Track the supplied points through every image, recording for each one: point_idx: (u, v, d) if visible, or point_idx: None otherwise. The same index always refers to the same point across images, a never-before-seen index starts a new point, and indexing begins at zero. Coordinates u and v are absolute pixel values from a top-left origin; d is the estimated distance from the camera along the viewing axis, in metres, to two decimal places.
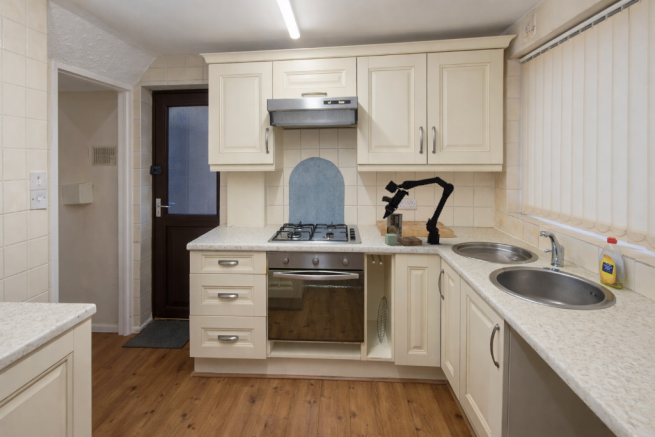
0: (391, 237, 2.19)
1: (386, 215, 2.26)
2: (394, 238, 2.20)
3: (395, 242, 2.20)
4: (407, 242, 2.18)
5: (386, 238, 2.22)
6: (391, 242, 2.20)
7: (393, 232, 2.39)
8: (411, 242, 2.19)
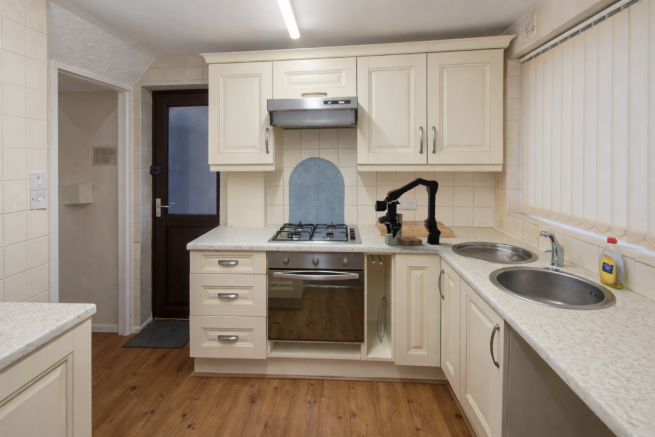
0: (391, 237, 2.19)
1: (395, 233, 2.16)
2: (394, 238, 2.20)
3: (395, 242, 2.20)
4: (407, 242, 2.18)
5: (386, 238, 2.22)
6: (391, 242, 2.20)
7: None
8: (411, 242, 2.19)
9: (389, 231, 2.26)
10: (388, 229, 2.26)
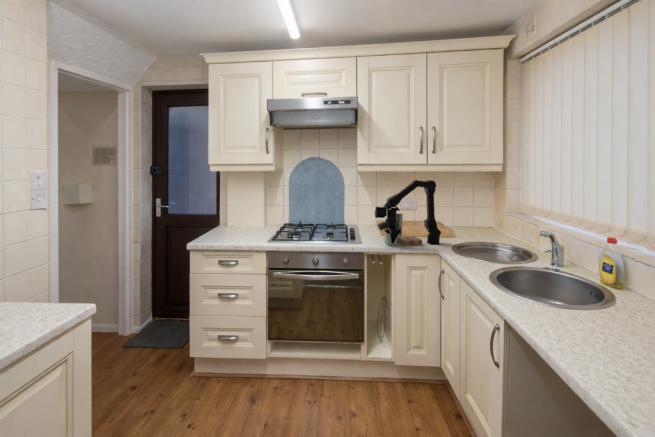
0: None
1: (394, 239, 2.18)
2: None
3: (395, 242, 2.20)
4: (407, 242, 2.18)
5: (386, 238, 2.22)
6: (391, 242, 2.20)
7: None
8: (411, 242, 2.19)
9: None
10: None
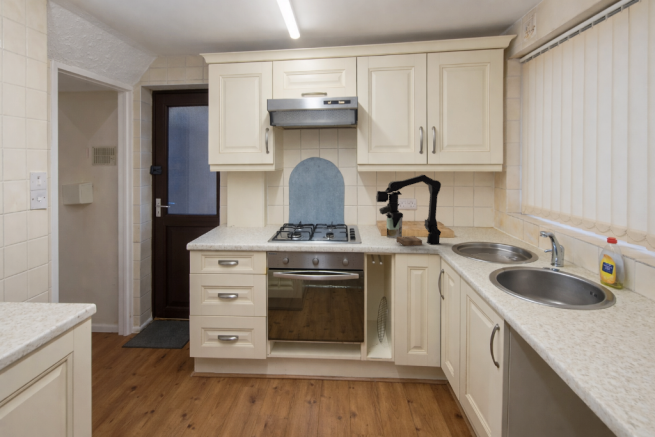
0: None
1: (396, 223, 2.17)
2: None
3: (397, 226, 2.19)
4: (407, 242, 2.18)
5: (388, 222, 2.20)
6: None
7: (393, 232, 2.39)
8: (411, 242, 2.19)
9: None
10: None
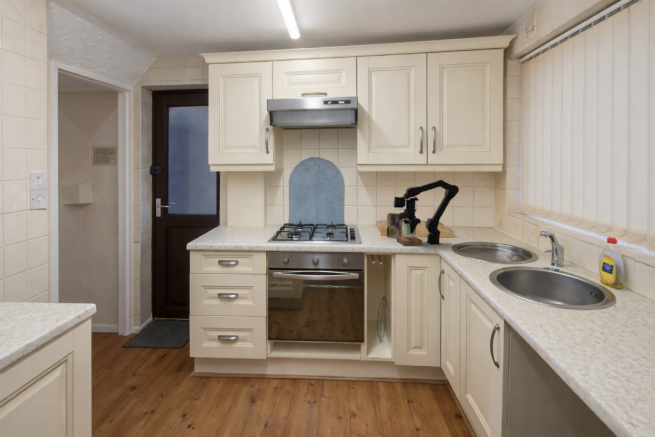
0: None
1: (413, 228, 2.19)
2: None
3: (414, 232, 2.21)
4: (407, 242, 2.18)
5: (405, 228, 2.23)
6: (410, 232, 2.21)
7: (393, 232, 2.39)
8: (411, 242, 2.19)
9: None
10: None
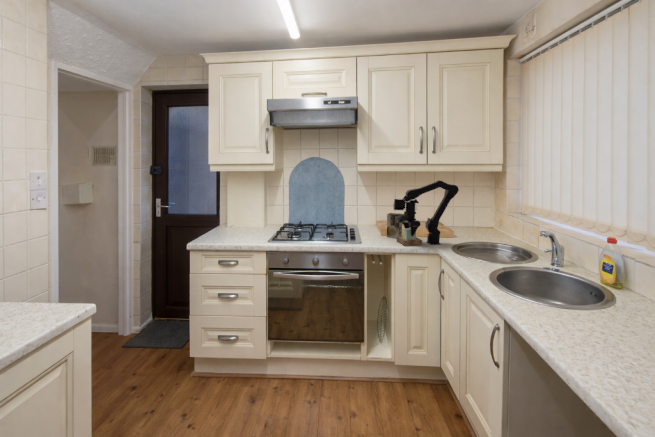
0: (410, 231, 2.21)
1: (413, 231, 2.18)
2: None
3: (414, 236, 2.22)
4: (407, 242, 2.18)
5: (405, 233, 2.23)
6: (409, 237, 2.21)
7: (393, 232, 2.39)
8: (411, 242, 2.19)
9: None
10: None
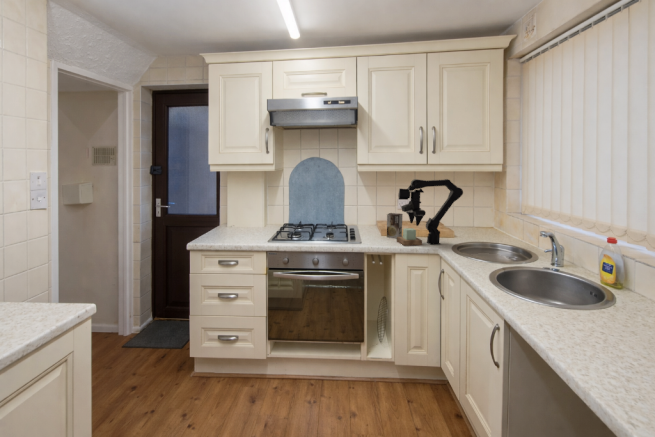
0: (410, 231, 2.21)
1: (418, 221, 2.18)
2: (413, 232, 2.21)
3: (414, 236, 2.22)
4: (407, 242, 2.18)
5: (405, 233, 2.23)
6: (409, 237, 2.21)
7: (393, 232, 2.39)
8: (411, 242, 2.19)
9: (412, 219, 2.28)
10: (411, 217, 2.27)
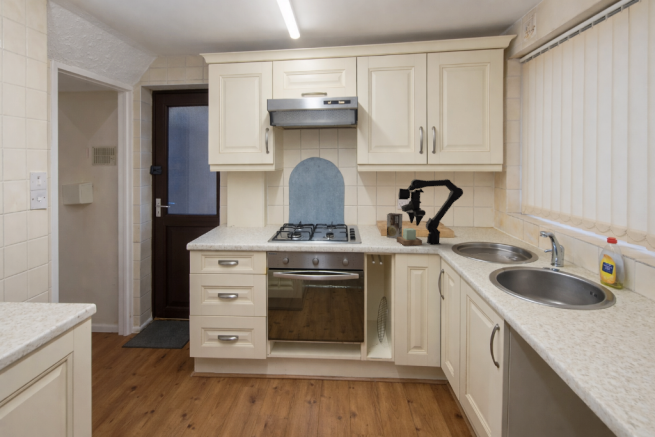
0: (410, 231, 2.21)
1: (419, 221, 2.18)
2: (413, 232, 2.21)
3: (414, 236, 2.22)
4: (407, 242, 2.18)
5: (405, 233, 2.23)
6: (409, 237, 2.21)
7: (393, 232, 2.39)
8: (411, 242, 2.19)
9: (412, 219, 2.28)
10: (411, 217, 2.27)
